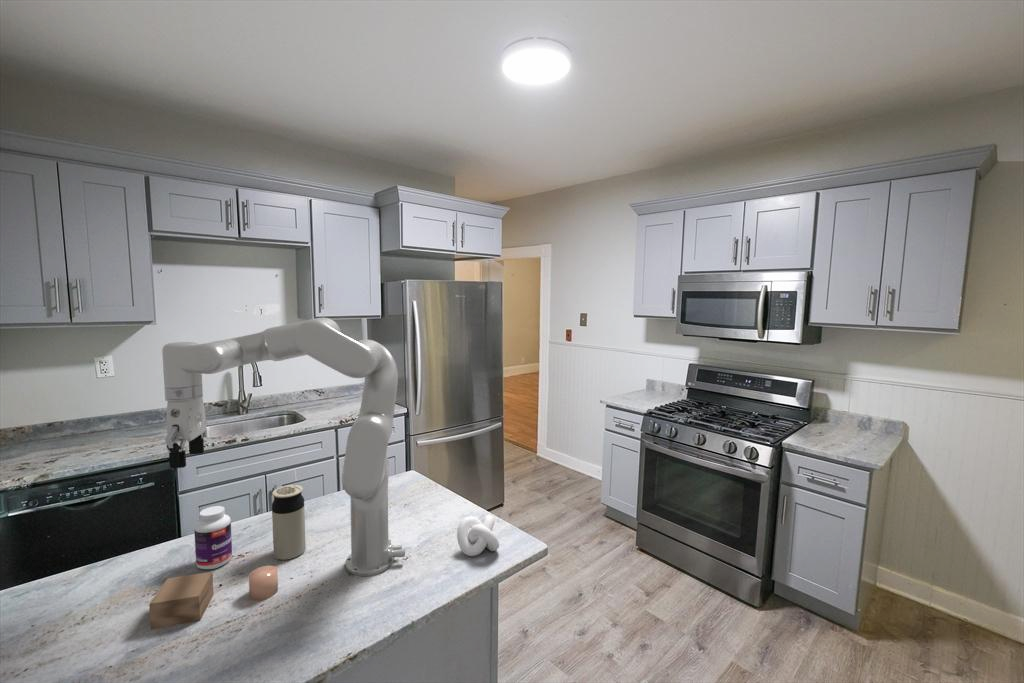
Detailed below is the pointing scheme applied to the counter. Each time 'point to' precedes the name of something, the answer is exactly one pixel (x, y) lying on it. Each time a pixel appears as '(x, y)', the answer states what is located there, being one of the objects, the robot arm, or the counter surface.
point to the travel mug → (288, 522)
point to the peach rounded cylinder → (263, 583)
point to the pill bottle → (213, 538)
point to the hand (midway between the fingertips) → (187, 460)
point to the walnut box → (181, 600)
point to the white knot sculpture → (477, 535)
